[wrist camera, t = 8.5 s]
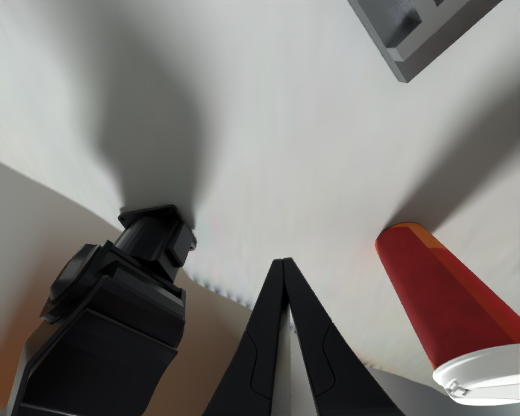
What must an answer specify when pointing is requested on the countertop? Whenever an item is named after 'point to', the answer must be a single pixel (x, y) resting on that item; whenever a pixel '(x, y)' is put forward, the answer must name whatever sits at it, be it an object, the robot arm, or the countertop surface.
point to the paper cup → (454, 317)
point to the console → (417, 29)
